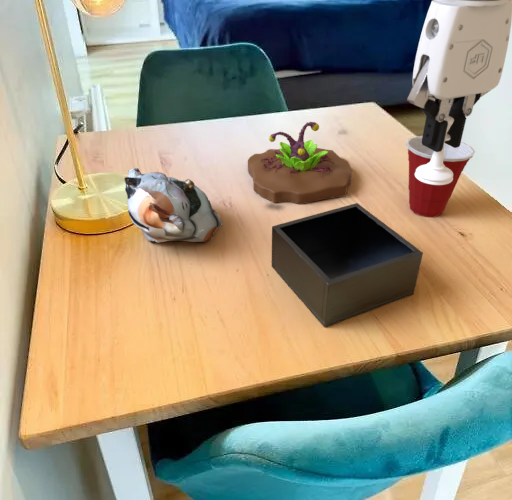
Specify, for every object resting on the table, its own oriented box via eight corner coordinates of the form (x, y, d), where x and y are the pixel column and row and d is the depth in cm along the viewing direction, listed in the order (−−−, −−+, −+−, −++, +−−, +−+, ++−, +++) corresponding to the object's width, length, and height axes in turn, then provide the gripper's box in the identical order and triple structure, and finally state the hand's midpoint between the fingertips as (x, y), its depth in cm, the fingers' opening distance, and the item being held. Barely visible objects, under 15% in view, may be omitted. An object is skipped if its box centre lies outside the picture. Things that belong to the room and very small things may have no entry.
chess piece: (411, 180, 67) (424, 106, 61) (418, 166, 70) (432, 94, 65) (449, 188, 65) (467, 112, 59) (455, 172, 69) (472, 99, 63)
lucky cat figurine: (235, 235, 82) (213, 187, 70) (174, 278, 81) (140, 237, 68) (189, 178, 89) (162, 126, 77) (132, 217, 88) (95, 170, 75)
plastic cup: (468, 205, 90) (485, 142, 83) (444, 231, 83) (460, 164, 76) (411, 187, 95) (423, 126, 88) (384, 210, 88) (394, 146, 82)
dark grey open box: (414, 294, 70) (423, 252, 66) (324, 327, 65) (328, 284, 61) (352, 241, 81) (357, 202, 77) (271, 266, 75) (271, 226, 71)
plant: (364, 199, 92) (372, 141, 85) (257, 207, 89) (257, 148, 83) (335, 153, 108) (340, 102, 101) (244, 159, 106) (243, 107, 99)
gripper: (440, -4, 49) (409, 169, 60) (555, -15, 55) (508, 145, 65) (391, -13, 55) (371, 146, 65) (500, -23, 60) (465, 126, 71)
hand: (440, 144), depth 65 cm, fingers closed on chess piece
